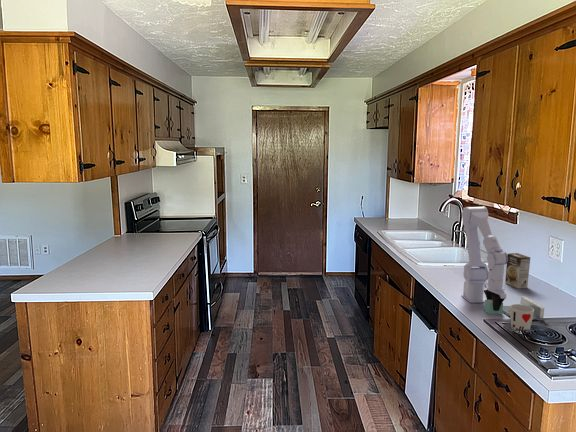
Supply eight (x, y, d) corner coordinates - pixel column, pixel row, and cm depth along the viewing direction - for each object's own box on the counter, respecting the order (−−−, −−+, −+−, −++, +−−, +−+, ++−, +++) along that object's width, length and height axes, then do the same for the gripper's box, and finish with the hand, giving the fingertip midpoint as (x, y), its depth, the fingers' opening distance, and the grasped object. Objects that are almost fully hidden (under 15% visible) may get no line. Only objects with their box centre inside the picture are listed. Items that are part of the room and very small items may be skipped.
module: (484, 310, 189) (485, 299, 188) (497, 310, 189) (498, 298, 188) (488, 314, 185) (489, 302, 184) (502, 313, 185) (503, 302, 184)
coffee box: (504, 283, 225) (506, 253, 222) (514, 282, 226) (517, 252, 223) (517, 288, 216) (520, 257, 213) (528, 287, 217) (530, 256, 215)
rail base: (497, 308, 191) (498, 296, 190) (523, 307, 192) (524, 295, 191) (515, 321, 177) (516, 308, 176) (543, 320, 178) (544, 307, 177)
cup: (507, 333, 166) (509, 309, 165) (509, 326, 173) (511, 302, 171) (530, 338, 162) (533, 313, 160) (532, 330, 168) (534, 306, 167)
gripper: (514, 283, 178) (511, 314, 180) (495, 273, 192) (493, 302, 194) (497, 284, 177) (495, 315, 179) (480, 273, 191) (478, 302, 194)
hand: (493, 308), depth 187 cm, fingers closed on module, 4 cm apart
